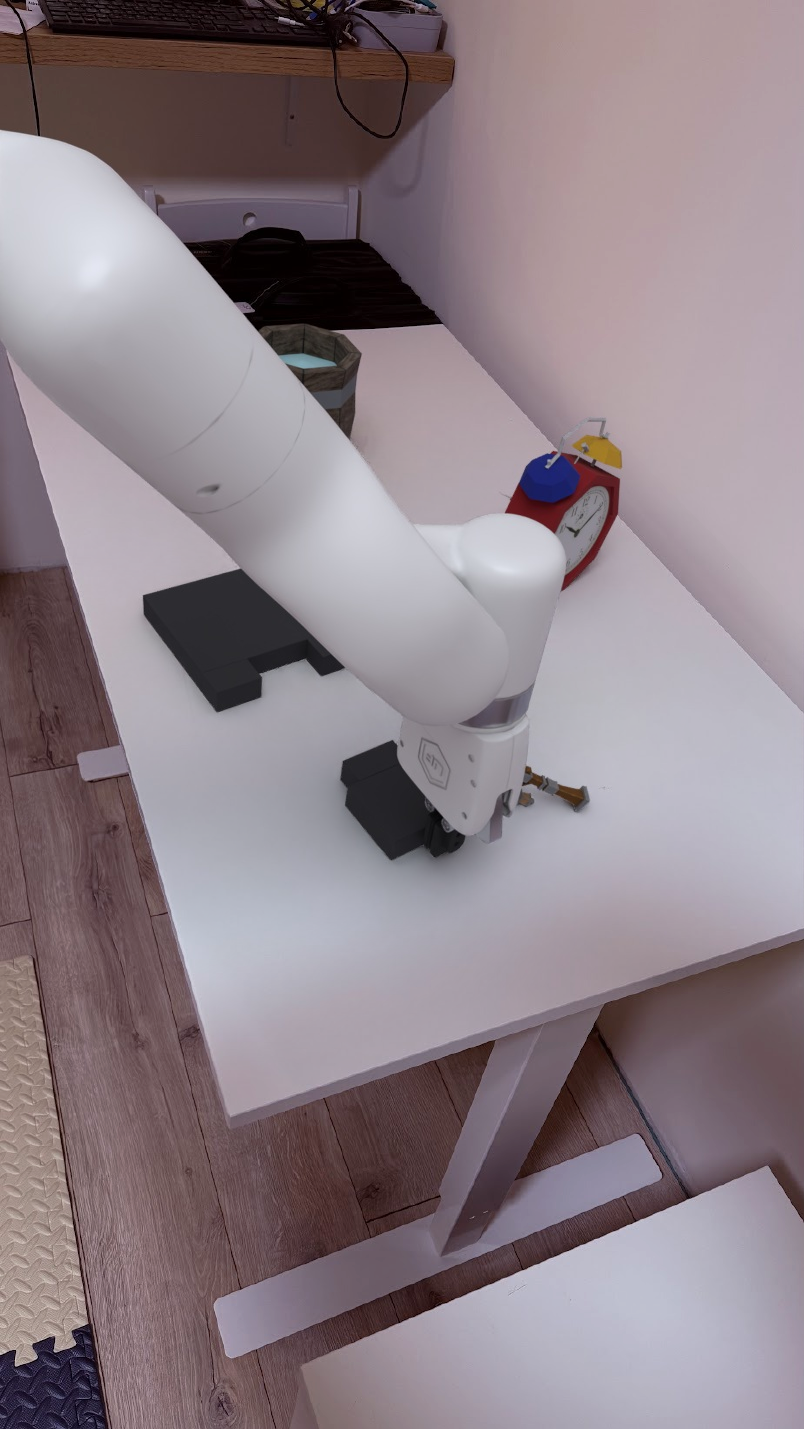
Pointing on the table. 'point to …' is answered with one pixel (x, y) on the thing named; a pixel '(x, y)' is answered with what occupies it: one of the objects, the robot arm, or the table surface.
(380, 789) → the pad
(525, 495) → the alarm clock
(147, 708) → the table surface
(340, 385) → the mug
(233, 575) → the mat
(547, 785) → the brown jointed two-tone fixture
